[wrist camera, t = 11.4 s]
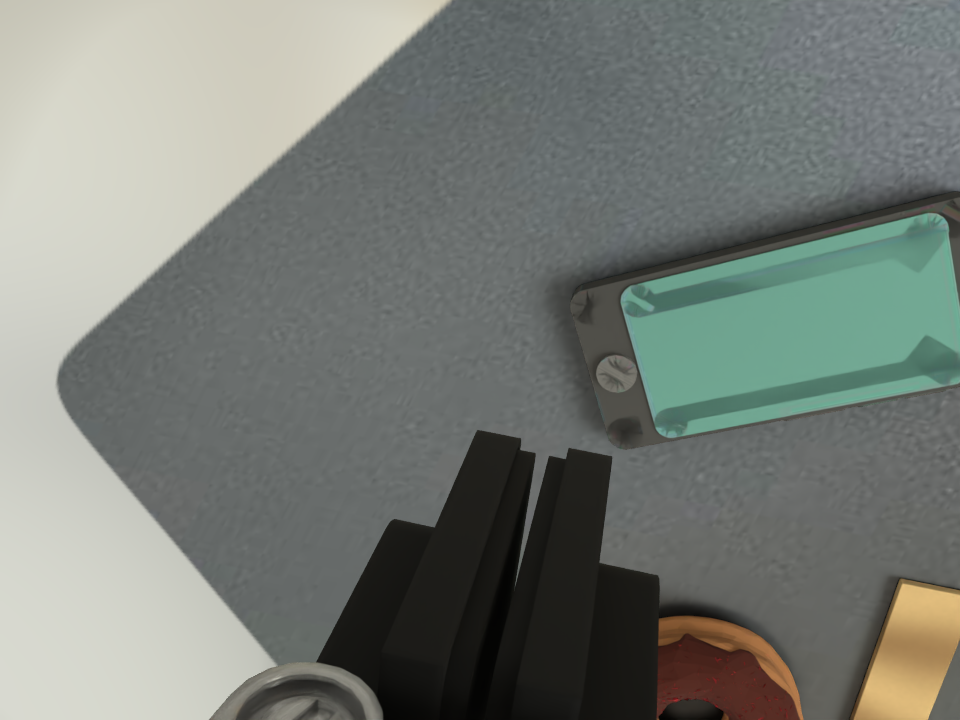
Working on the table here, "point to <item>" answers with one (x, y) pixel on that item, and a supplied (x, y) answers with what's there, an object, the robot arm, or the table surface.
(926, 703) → the strip
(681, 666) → the donut
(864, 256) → the smartphone
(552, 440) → the table surface
